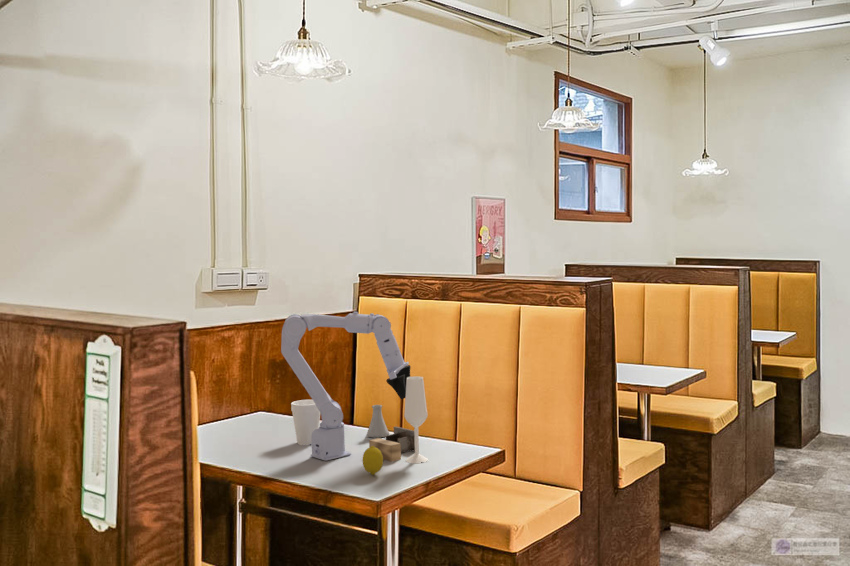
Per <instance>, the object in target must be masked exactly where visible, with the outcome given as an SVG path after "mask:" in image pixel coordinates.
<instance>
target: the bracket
mask: <svg viewBox="0 0 850 566" xmlns="http://www.w3.org/2000/svg"><path fill="white" fill-rule="evenodd" d="M385 440H388V441H392V442H396V443H400V444H401V454H404V453H407V451H408V452H411V451H412V450H413V452H415V437H414V430H413V429H409V428H406V427H405V428H404V427H400V426H393V433H392V434H389V435H387V436H386V437H385ZM410 450H411V451H410Z"/></svg>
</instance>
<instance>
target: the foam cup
mask: <svg viewBox="0 0 850 566" xmlns="http://www.w3.org/2000/svg"><path fill="white" fill-rule="evenodd" d="M290 405H291V407H290V409H291V412H292V419H293V425H294V431H295V437H296V442H297V445H300V446H310V445H309V444H312V432H313V431H314V430H316V429H318V428H319V427H320V423H321V422H320V421H321V413H320V411H319V410H318V408H317V406H316V404H315V402H314V401H313V399H301V400H295V401H292V402H291V403H290Z"/></svg>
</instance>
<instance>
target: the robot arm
mask: <svg viewBox="0 0 850 566" xmlns="http://www.w3.org/2000/svg"><path fill="white" fill-rule="evenodd" d="M318 327H320V328H321V327H322V328H343V329H345V330H346V332H348V333H354V334H365V335H366V334H367V335H368V334H371V333H373V335H374V338H375V340H376V344H377V348H378V350H379V352H380V356H381V358H382V360H383V362H384V365H385V368H386V372H387V376H388V378H387V379H386V380H385V381H386V383H387V384H388V385H390V387H391V388H392V389H393V390H394V391H395V393H396V394H397V396H398V397H399V399H400V400H404V399H405V397H406V382H407V377H411V369H412V368H411V367H412V366H411V365H410V363H409V361H407V362H406V361H405V360H404V358H403V355H402V353H401V349H400V347H399V344H398V341H397V339H396V337H395V335H394V334H393V330H392V323H391V322H390V319H389V318H387V317H386V316H384V315H382V314H378V313H377V314H374V313H371V312H370V314H368V313H367V314H365V313H359V312H358V311H353V312H352V313H351V312H350V313H348V314H346V315H345V316H338V315H337V316H336V315H327V314H319V313H318V314H316V313H304V314H300V315H299V314H296V313H295V314H291V315H289V316H287V317H286V318H285V321H284V323H283V325H282V328H281V329H282V330H281V347H280V348H281V349H280V353H281V355H282V356H283V357H284V359H285V361H286V362H287V364H288V365H289V367H290V368H291V370H292V371H293V373H294V374H295V375H296V377H297V378H298V380H299V381H300V383H301V385H302V386H303V388H305V391H306V392H307V393H308V395H309V397H310V398H311V400H313V401H314V402H315V404H316V406H317V408H318V410H319V411H320V417H321V422H319V428H318V429H316V430H314V431H313V432H312V445H311V454H310V457H312V458H315V459H319V460H321V461H325V462H326V461H331V460H334V459H338V458H343V457H346V456H351V455H352V453H351V452H349V451H346V448H345V447H346V443H345V441H346V440H345V423H344V422H343V420H344V413H343V411H342V407H341V405H340V403H338V402H337V401H335V400H334V399H332V397H331V395H330V394H329V393H328V392H327V391H326V389H325V387H324V386H323V385H322V383H321V381H320V380H319V379H318V377H317V376H316V374H315V373H314V372H313V369H312V368H311V366H310V365H309V364H308V362H307V361H306V359H305V358H304V356H303V355H302V353H301V352H300V350H299V346H300V343H301V340H302V338H303V337H304V335H305V333H306V330H308V331H309V332H310V331H313V329H315V328H318Z"/></svg>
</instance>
